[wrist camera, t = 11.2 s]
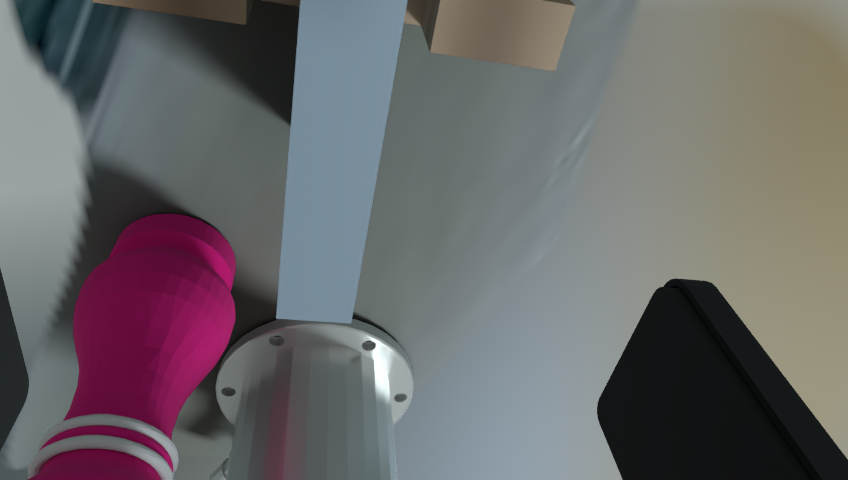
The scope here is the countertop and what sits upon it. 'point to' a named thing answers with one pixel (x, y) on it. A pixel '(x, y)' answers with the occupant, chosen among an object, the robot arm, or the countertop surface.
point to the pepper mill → (142, 350)
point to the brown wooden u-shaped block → (435, 25)
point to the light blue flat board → (335, 151)
